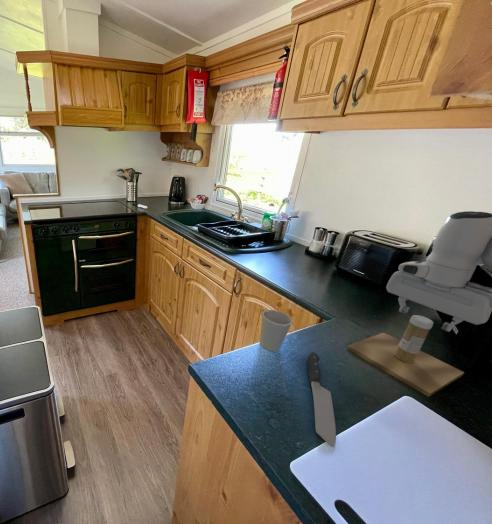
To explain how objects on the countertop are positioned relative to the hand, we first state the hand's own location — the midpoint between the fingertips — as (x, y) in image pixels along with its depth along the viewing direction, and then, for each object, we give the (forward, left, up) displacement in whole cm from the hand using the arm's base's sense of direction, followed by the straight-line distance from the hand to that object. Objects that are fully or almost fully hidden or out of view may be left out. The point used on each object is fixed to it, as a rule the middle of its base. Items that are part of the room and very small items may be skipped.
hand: (423, 320), depth 79 cm
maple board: (0, 0, -14) cm, 14 cm away
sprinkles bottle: (0, 0, -13) cm, 13 cm away
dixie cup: (+20, +32, -14) cm, 41 cm away
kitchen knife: (+1, +36, -14) cm, 39 cm away
